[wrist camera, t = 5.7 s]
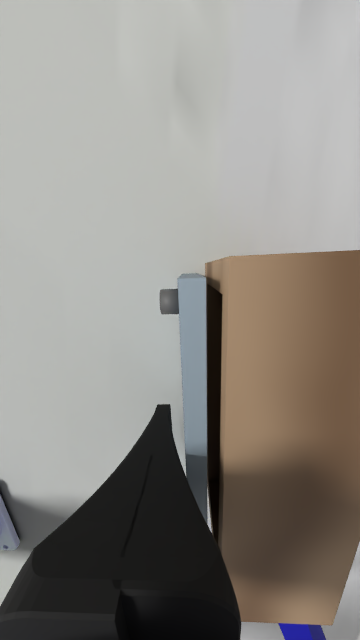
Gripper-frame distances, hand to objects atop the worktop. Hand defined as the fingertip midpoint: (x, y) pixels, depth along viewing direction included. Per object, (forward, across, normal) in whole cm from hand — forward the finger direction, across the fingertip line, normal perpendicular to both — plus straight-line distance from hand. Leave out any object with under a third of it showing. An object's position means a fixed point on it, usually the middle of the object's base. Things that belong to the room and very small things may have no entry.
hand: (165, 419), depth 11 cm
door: (+1, -1, 0) cm, 2 cm away
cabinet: (+2, -5, 0) cm, 5 cm away
